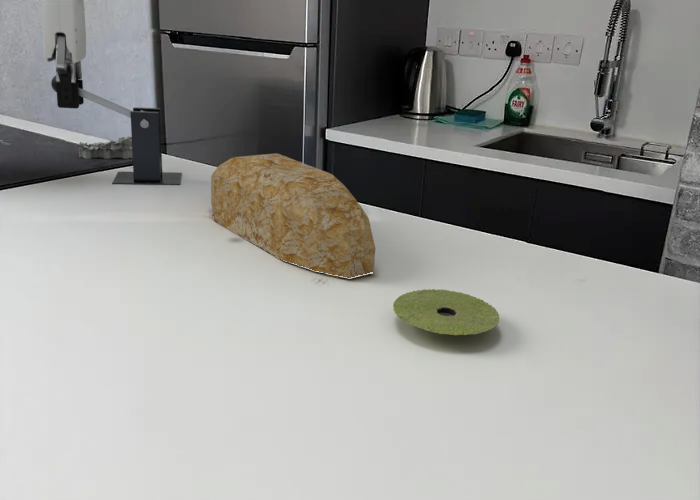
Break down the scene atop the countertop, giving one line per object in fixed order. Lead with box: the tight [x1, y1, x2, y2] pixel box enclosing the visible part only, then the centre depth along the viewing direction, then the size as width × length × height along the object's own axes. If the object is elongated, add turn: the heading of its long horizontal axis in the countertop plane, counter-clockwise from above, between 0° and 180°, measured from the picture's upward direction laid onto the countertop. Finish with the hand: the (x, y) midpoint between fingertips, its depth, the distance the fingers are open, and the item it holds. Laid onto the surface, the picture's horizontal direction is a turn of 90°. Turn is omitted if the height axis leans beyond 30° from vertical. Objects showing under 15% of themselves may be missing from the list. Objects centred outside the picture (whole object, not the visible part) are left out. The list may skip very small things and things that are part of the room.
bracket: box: [111, 106, 183, 186], centre depth 116 cm, size 11×8×13 cm
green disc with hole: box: [392, 288, 501, 336], centre depth 73 cm, size 11×11×2 cm
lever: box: [50, 75, 145, 119], centre depth 112 cm, size 17×3×3 cm, turn 101°
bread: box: [210, 152, 376, 278], centre depth 96 cm, size 36×11×10 cm, turn 38°
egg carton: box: [77, 136, 133, 160], centre depth 132 cm, size 11×8×4 cm
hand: (70, 104), depth 111 cm, fingers closed on lever, 3 cm apart
